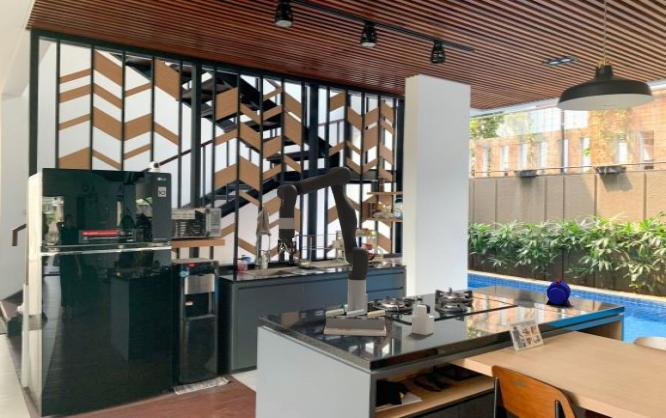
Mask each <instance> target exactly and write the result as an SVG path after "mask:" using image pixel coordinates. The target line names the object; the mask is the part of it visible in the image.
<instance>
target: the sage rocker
mask: <svg viewBox="0 0 666 418" xmlns="http://www.w3.org/2000/svg"><path fill="white" fill-rule="evenodd" d="M344 313H345V310H344V308H339V309H334V310H333V309H332V310H328V311H326V312H325V318H327V317H329V316H333V317H337V316H340V315H344Z"/></svg>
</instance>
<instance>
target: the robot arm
mask: <svg viewBox="0 0 666 418" xmlns="http://www.w3.org/2000/svg"><path fill="white" fill-rule="evenodd" d="M352 174H353V173H352V172H351V170H350V168H349V167H347V166H335V167H331V168H330V169H329V170H328V172H327V173H325V174H322V175H321V174H320V175H316V176H312V177H307V178H305V179H304V178H303V179H301V180H298V181H296V182H294V181H293V182H290V183H286V184H282V185H280V186H279V187H277V190H276V195H277V197H278V198H279V199H280V200H283V202H282V205H280V207H279V211H278V212H279V213H278V215H279V216H278V217H279V218H278V238H279V239H277V245H276V247H277V249H276V251H277V253H278V254H279V262H281V263H285V261H286V259H285V258H286V254H285V253H286V252H287V253H288V263H289V264H290V265H291V264H294V263H295V257H294V256H295V255H297V251H298V250H297V249H298V248H297V241H296V240H293V239H295V237H296V221H295V220H296V219H295V209H296V205H297V200H298V199H297V198H298V196H305V195H308V194H311V193H314V192H317V191H320V190H322V189H325V188H329V187H330V190H331V193H332V196H333V199H334V204H335V209H336V213H337V218H338V223H339V226H340V230H341V235H342V239H343V240H342V241H343V248H344V256H345V260H346V262H347V263H348V264H349V265H350V266H352V268H351V269H352V270H351V271H350V272H349V273H348V275H347V311H346V313H347V312H350V311H356V310H361V309H364V315H365V314H367V313H368V294H367V275H368V273H369V261H370V260H369V253H368V251H367V250H366V249H365V248H363V247H359V246H358V243H357V237H356V235H357V228H358V217H357V213H356V208H355V206H354V204H353V203H352V201H351V200H350V198H349V197H348V195H347V194H346V193H347V192H346V190H345V185H347V184H349V183H350V181H351V180H352Z"/></svg>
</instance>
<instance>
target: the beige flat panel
mask: <svg viewBox="0 0 666 418" xmlns="http://www.w3.org/2000/svg"><path fill="white" fill-rule="evenodd" d="M366 314H367V317H368V318H372V317H375V318H376V319H378V318H379V317H384V316H386V311H385V309H380V310H374V311H369V312H368V311H367V313H366Z"/></svg>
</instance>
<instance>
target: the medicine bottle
mask: <svg viewBox="0 0 666 418" xmlns="http://www.w3.org/2000/svg"><path fill="white" fill-rule="evenodd" d="M415 314H416V315H412V316H411V333H412V334H415V335H422V336H428V335H430V334H434V333H435V316H434V315H431V306H430V305H428V304H424V303H419V304H416V306H415Z"/></svg>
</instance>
